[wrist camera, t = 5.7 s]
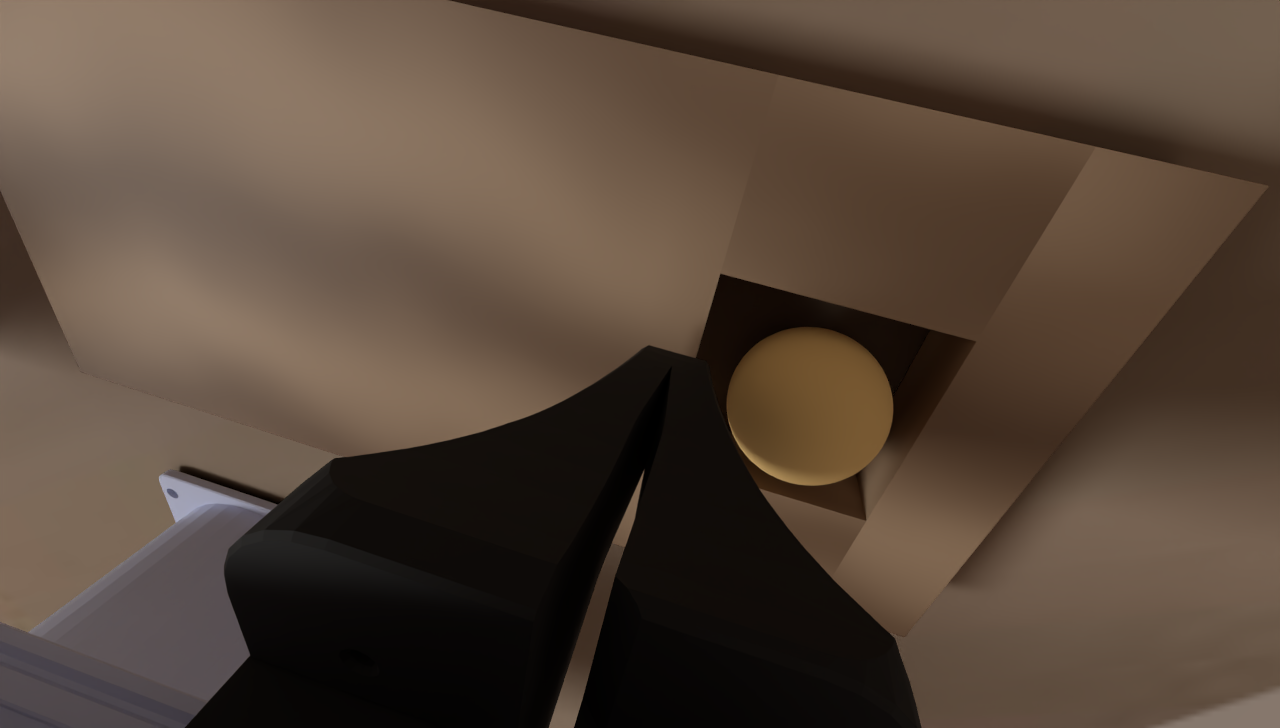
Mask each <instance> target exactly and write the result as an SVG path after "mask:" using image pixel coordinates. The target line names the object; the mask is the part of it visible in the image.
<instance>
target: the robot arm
mask: <svg viewBox="0 0 1280 728" xmlns="http://www.w3.org/2000/svg"><path fill="white" fill-rule="evenodd" d="M643 471H644V474H643ZM642 474H643V479H642V484H641V489H640V494H639V499H638V504H637V509H636V514H635V519H634V523H633V526H632V529H631V532H630V535H629V537H628V540H627V543H626V546H625V549H624V552H623V555H622V558H621V561H620V564H619V567H618V570H617V573H616V575H615V579H614V583H613V587H612V590H611V594H610V598H609V602H608V606H607V609H606V613H605V617H604V621H603V625H602V628H601V632H600V636H599V640H598V643H597V647H596V651H595V655H594V659H593V662H592V666H591V670H590V674H589V678H588V681H587V685H586V689H585V693H584V696H583V700H582V703H581V706H580V710H579V713H578V716H577V720H576V723H575V726H574V728H921V724H920V720H919V716H918V711H917V707H916V703H915V700H914V696H913V692H912V689H911V685H910V682H909V679H908V676H907V673H906V670H905V667H904V665H903V662H902V659H901V656H900V653H899V650H898V647H897V643H896V640H895V638H894V637H893V636H892V635H891V634H890V633H889V632H888V631H886V630H885V629H884V628H883V627H882V626H881V625H880V624H879V623H878V622H877V621H876V620H875V619H874V618H873V617H872V616H871V615H870V614H869V613H868V612H867V611H865V610H864V609H863V608H862V607H861V606H860V605H859V604H858V603H857V602H856V601H855V600H854V599H853V598H852V597H851V596H850V595H849V594H848V593H847V592H846V591H845V590H843V589H842V588H841V587H840V586H839V585H838V584H837V583H836V582H835V581H834V580H833V579H832V578H831V576H830V575H829V574H828V573H827V572H826V571H825V570H824V569H823V568H822V567H821V565H820V564H819V563H818V562H817V561H816V560H815V559H814V558H813V557H812V556H811V554H810V553H809V552H808V551H807V550H806V549H805V548H804V547H803V545H802V544H801V543H800V542H799V541H798V539H797V538H796V537H795V536H794V535H793V534H792V532H791V531H790V530H789V529H788V527H787V526H786V525H785V523H784V522H783V521H782V519H781V518H780V517H779V515H778V514H777V513H776V511H775V510H774V509H773V507H772V506H771V505H770V504H769V502H768V501H767V499H766V498H765V496H764V495H763V493H762V492H761V491H760V489H759V488H758V486H757V484H756V483H755V481H754V479H753V478H752V476H751V474H750V473H749V471H748V469H747V467H746V465H745V464H744V462H743V460H742V458H741V456H740V454H739V452H738V450H737V448H736V446H735V443H734V441H733V439H732V437H731V435H730V432H729V430H728V428H727V425H726V423H725V420H724V417H723V415H722V412H721V409H720V407H719V404H718V401H717V398H716V394H715V391H714V387H713V383H712V379H711V374H710V367H709V365H708V364H707V362H706V361H704V360H700V359H697V358H693V357H690V356H686V355H682V354H679V353H675V352H672V351H668V350H665V349H661V348H658V347H654V346H650V345H648V346H646V347H644V348H642V349H641V350H640V351H639V352H637V353H636V354H635V355H634V356H632V357H631V358H630V359H628V360H627V361H626V362H624V363H623V364H622V365H620V366H619V367H618V368H616V369H615V370H613V371H612V372H610V373H609V374H607V375H606V376H604V377H603V378H601V379H600V380H598V381H597V382H595V383H594V384H592V385H590V386H588V387H587V388H585V389H583V390H581V391H580V392H578V393H576V394H574V395H573V396H571V397H569V398H567V399H565V400H564V401H561V402H559V403H557V404H555V405H553V406H551V407H549V408H547V409H545V410H542V411H540V412H538V413H535V414H533V415H530V416H528V417H525V418H522V419H519V420H516V421H513V422H510V423H507V424H504V425H501V426H498V427H495V428H492V429H489V430H485V431H482V432H479V433H475V434H471V435H467V436H463V437H459V438H455V439H451V440H447V441H442V442H437V443H433V444H428V445H423V446H418V447H412V448H407V449H400V450H393V451H386V452H379V453H372V454H365V455H358V456H351V457H342V458H334V459H333V460H331V461H330V462H329V463H328V464H326V465H325V466H324V467H322V468H321V469H320V470H319V471H317V472H316V473H315V474H313V475H312V476H311V477H310V478H308V479H307V480H306V481H304V482H303V483H302V484H301V485H300V486H299V487H298V488H296V489H295V490H294V491H293V492H292V493H291V494H290V495H288V496H287V497H286V498H285V499H284V500H283V501H282V502H280V503H279V504H275V503H272V502H269V501H266V500H263V499H260V498H257V497H254V496H251V495H248V494H245V493H242V492H239V491H236V490H233V489H230V488H227V487H224V486H221V485H218V484H215V483H212V482H209V481H206V480H203V479H200V478H197V477H194V476H191V475H188V474H185V473H182V472H179V471H176V470H168V471H166V472H164V473H163V474H161V475H160V477H159V481H160V484H161V486H162V489H163V491H164V494H165V496H166V499H167V501H168V504H169V506H170V509H171V511H172V514H173V516H174V519H175V521H176V523H175V524H174V525H172V526H171V527H170V528H168V529H167V530H166V531H164V532H163V533H162V534H160V535H159V536H157V537H156V538H155V539H153V540H152V541H151V542H149V543H148V544H147V545H145V546H144V547H143V548H141V549H140V550H139V551H137V552H136V553H135V554H133V555H132V556H130V557H129V558H128V559H126V560H125V561H124V562H122V563H121V564H120V565H118V566H117V567H116V568H114V569H113V570H112V571H110V572H109V573H108V574H106V575H105V576H103V577H102V578H101V579H99V580H98V581H97V582H95V583H94V584H93V585H91V586H90V587H89V588H87V589H86V590H85V591H83V592H82V593H80V594H79V595H78V596H76V597H75V598H74V599H72V600H71V601H70V602H68V603H67V604H66V605H64V606H63V607H62V608H60V609H59V610H58V611H56V612H55V613H53V614H52V615H51V616H49V617H48V618H47V619H45V620H44V621H43V622H41V623H40V624H39V625H37V626H36V627H35V628H33V629H32V630H31V631H29V632H25V631H22V630H20V629H17V628H15V627H12V626H9V625H7V624H4V623H1V622H0V728H549V725H550V722H551V719H552V715H553V712H554V709H555V706H556V703H557V700H558V697H559V694H560V691H561V688H562V685H563V682H564V678H565V675H566V672H567V669H568V666H569V663H570V660H571V657H572V654H573V651H574V648H575V645H576V642H577V639H578V636H579V633H580V630H581V627H582V624H583V621H584V618H585V614H586V611H587V608H588V605H589V602H590V599H591V596H592V593H593V590H594V587H595V584H596V581H597V578H598V575H599V573H600V570H601V568H602V565H603V563H604V560H605V558H606V555H607V553H608V551H609V548H610V546H611V544H612V542H613V539H614V537H615V535H616V533H617V530H618V528H619V526H620V524H621V521H622V519H623V517H624V515H625V512H626V510H627V508H628V506H629V503H630V501H631V499H632V496H633V494H634V492H635V490H636V487H637V485H638V483H639V481H640V478H641V476H642Z"/></svg>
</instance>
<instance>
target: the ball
mask: <svg viewBox="0 0 1280 728" xmlns="http://www.w3.org/2000/svg"><path fill="white" fill-rule="evenodd" d="M727 415H728V421H729V424H730V428H731V431H732V434H733V436H734V438H735V440H736V442H737V443H738V445H739V447H740V448H741V450H742V451H743V452H744V454H745V455H746V456H747V457H748V458H749V459H750V460H751V461H752V462H753V463H754V464H755V465H756V466H758V467H759V468H760V469H761V470H763V471H764V472H766V473H768V474H769V475H771V476H773V477H776V478H778V479H780V480H783V481H786V482H789V483H793V484H798V485H809V486H817V485H826V484H831V483H835V482H838V481H841V480H844V479H846V478H848V477H850V476H853V475H854V474H856V473H858V472H859V471H860V470H862V469H863V468H864V467H866V466H867V465H868V464H869V463H870V462H871V461H872V460H873V459H874V458H875V457H876V455H877V454H878V453H879V452H880V450H881V449H882V447H883V445H884V443H885V441H886V439H887V437H888V435H889V432H890V428H891V424H892V419H893V398H892V392H891V388H890V385H889V382H888V379H887V377H886V375H885V373H884V371H883V369H882V367H881V366H880V364H879V363H878V361H877V360H876V359H875V358H874V357H873V355H872V354H871V353H870V352H869V351H868V350H867V349H866V348H864V347H863V346H862V345H860V344H859V343H858V342H856V341H855V340H853V339H852V338H850V337H848V336H846V335H844V334H841V333H839V332H836V331H833V330H829V329H825V328H820V327H797V328H791V329H786V330H783V331H780V332H777V333H775V334H773V335H770V336H768V337H766V338H765V339H763V340H761V341H760V342H759V343H757V344H756V345H755V346H754V347H752V348H751V349H750V350H749V351H748V352H747V353H746V354H745V355H744V357H743V358H742V360H741V361H740V362H739V364H738V365H737V367H736V369H735V371H734V373H733V375H732V378H731V380H730V384H729V388H728V393H727Z"/></svg>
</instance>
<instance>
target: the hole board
mask: <svg viewBox="0 0 1280 728" xmlns="http://www.w3.org/2000/svg"><path fill="white" fill-rule="evenodd" d="M1268 187H1269V186H1268V185H1264V184H1259V183H1255V182H1250V181H1246V180H1241V179H1237V178H1233V177H1228V176H1224V175H1219V174H1215V173H1210V172H1206V171H1202V170H1197V169H1193V168H1188V167H1184V166H1179V165H1175V164H1171V163H1166V162H1162V161H1157V160H1153V159H1148V158H1144V157H1140V156H1135V155H1131V154H1126V153H1122V152H1118V151H1113V150H1109V149H1104V148H1100V147H1095V146H1091V145H1087V144H1082V143H1078V142H1073V141H1069V140H1064V139H1060V138H1056V137H1051V136H1047V135H1042V134H1038V133H1033V132H1029V131H1025V130H1020V129H1016V128H1011V127H1007V126H1002V125H998V124H994V123H989V122H985V121H980V120H976V119H971V118H967V117H963V116H958V115H954V114H949V113H945V112H940V111H936V110H932V109H927V108H923V107H918V106H914V105H909V104H905V103H901V102H896V101H892V100H887V99H883V98H879V97H874V96H870V95H865V94H861V93H856V92H852V91H848V90H843V89H839V88H834V87H830V86H825V85H821V84H817V83H812V82H808V81H803V80H799V79H794V78H790V77H786V76H781V75H777V74H772V73H768V72H763V71H759V70H755V69H750V68H746V67H741V66H737V65H732V64H728V63H724V62H719V61H715V60H710V59H706V58H701V57H697V56H693V55H688V54H684V53H679V52H675V51H671V50H666V49H662V48H657V47H653V46H648V45H644V44H640V43H635V42H631V41H626V40H622V39H617V38H613V37H609V36H604V35H600V34H595V33H591V32H586V31H582V30H578V29H573V28H569V27H564V26H560V25H555V24H551V23H547V22H542V21H538V20H533V19H529V18H524V17H520V16H516V15H511V14H507V13H502V12H498V11H493V10H489V9H485V8H480V7H476V6H471V5H467V4H463V3H458V2H454V1H449V0H0V191H1V194H2V196H3V198H4V200H5V203H6V205H7V207H8V209H9V212H10V214H11V216H12V218H13V221H14V223H15V225H16V227H17V230H18V232H19V234H20V236H21V239H22V241H23V243H24V245H25V248H26V250H27V252H28V254H29V257H30V259H31V261H32V263H33V266H34V268H35V270H36V272H37V275H38V277H39V279H40V281H41V284H42V286H43V288H44V290H45V293H46V295H47V297H48V299H49V302H50V304H51V306H52V308H53V311H54V313H55V315H56V317H57V320H58V322H59V324H60V326H61V329H62V331H63V333H64V335H65V338H66V340H67V342H68V344H69V347H70V349H71V351H72V353H73V356H74V358H75V360H76V362H77V365H78V367H79V369H80V371H81V372H82V373H85V374H88V375H91V376H94V377H97V378H100V379H104V380H107V381H110V382H113V383H116V384H119V385H122V386H125V387H128V388H132V389H135V390H138V391H141V392H144V393H147V394H150V395H153V396H156V397H160V398H163V399H166V400H169V401H172V402H175V403H178V404H181V405H184V406H187V407H191V408H194V409H197V410H200V411H203V412H206V413H209V414H212V415H215V416H219V417H222V418H225V419H228V420H231V421H234V422H237V423H240V424H243V425H247V426H250V427H253V428H256V429H259V430H262V431H265V432H268V433H271V434H275V435H278V436H281V437H284V438H287V439H290V440H293V441H296V442H299V443H302V444H306V445H309V446H312V447H315V448H318V449H321V450H324V451H327V452H330V453H334V454H337V455H340V456H343V457H351V456H358V455H365V454H372V453H379V452H386V451H393V450H400V449H407V448H412V447H418V446H423V445H428V444H433V443H437V442H442V441H447V440H451V439H455V438H459V437H463V436H467V435H471V434H475V433H479V432H482V431H485V430H489V429H492V428H495V427H498V426H501V425H504V424H507V423H510V422H513V421H516V420H519V419H522V418H525V417H528V416H530V415H533V414H535V413H538V412H540V411H542V410H545V409H547V408H549V407H551V406H553V405H555V404H557V403H559V402H561V401H564V400H565V399H567V398H569V397H571V396H573V395H574V394H576V393H578V392H580V391H581V390H583V389H585V388H587V387H588V386H590V385H592V384H594V383H595V382H597V381H598V380H600V379H601V378H603V377H604V376H606V375H607V374H609V373H610V372H612V371H613V370H615V369H616V368H618V367H619V366H620V365H622V364H623V363H624V362H626V361H627V360H628V359H630V358H631V357H632V356H634V355H635V354H636V353H637V352H639V351H640V350H641V349H642V348H644V347H646V346H648V345H650V346H654V347H658V348H661V349H665V350H668V351H672V352H675V353H679V354H682V355H686V356H690V357H693V358H696V355H697V352H698V349H699V345H700V342H701V338H702V335H703V331H704V328H705V325H706V321H707V318H708V314H709V311H710V308H711V304H712V301H713V297H714V294H715V290H716V287H717V284H718V280H719V277H720V274H724V275H728V276H731V277H735V278H739V279H743V280H746V281H750V282H754V283H758V284H761V285H765V286H769V287H773V288H777V289H780V290H784V291H788V292H792V293H795V294H799V295H803V296H807V297H810V298H814V299H818V300H822V301H826V302H829V303H833V304H837V305H841V306H844V307H848V308H852V309H856V310H859V311H863V312H867V313H871V314H875V315H878V316H882V317H886V318H890V319H893V320H897V321H901V322H905V323H908V324H912V325H916V326H920V327H924V328H927V329H931V330H930V331H929V333H928V335H927V337H926V339H925V340H924V342H923V344H922V346H921V348H920V350H919V351H918V353H917V355H916V357H915V359H914V360H913V362H912V364H911V366H910V368H909V369H908V371H907V373H906V375H905V377H904V379H903V380H902V382H901V384H900V386H899V388H898V389H897V391H896V393H895V395H894V397H893V419H892V424H891V428H890V432H889V435H888V437H887V439H886V441H885V443H884V445H883V447H882V449H881V450H880V452H879V453H878V454H877V455H876V457H875V458H874V459H873V460H872V461H871V462H870V463H869V464H868V465H867V466H866V467H864V468H863V469H862V470H860V471H859V472H858V473H856V474H854V475H853V476H850V477H848V478H846V479H844V480H841V481H838V482H835V483H831V484H826V485H817V486H809V485H798V484H793V483H789V482H786V481H783V480H780V479H778V478H776V477H773V476H771V475H769V474H768V473H766V472H764V471H763V470H761V469H760V468H759V467H758V466H756V465H755V464H754V463H753V462H752V461H751V460H750V459H749V458H748V457H747V456H746V455H745V454H744V452H743V451H742V450H741V448H740V447H739V445H738V443H737V442H736V440H735V438H734V436H733V434H732V431H729V432H730V435H731V437H732V439H733V441H734V443H735V446H736V448H737V450H738V452H739V454H740V456H741V458H742V460H743V462H744V464H745V465H746V467H747V469H748V471H749V473H750V474H751V476H752V478H753V479H754V481H755V483H756V484H757V486H758V488H759V489H760V491H761V492H762V493H763V495H764V496H765V498H766V499H767V501H768V502H769V504H770V505H771V506H772V507H773V509H774V510H775V511H776V513H777V514H778V515H779V517H780V518H781V519H782V521H783V522H784V523H785V525H786V526H787V527H788V529H789V530H790V531H791V532H792V534H793V535H794V536H795V537H796V538H797V539H798V541H799V542H800V543H801V544H802V545H803V547H804V548H805V549H806V550H807V551H808V552H809V553H810V554H811V556H812V557H813V558H814V559H815V560H816V561H817V562H818V563H819V564H820V565H821V567H822V568H823V569H824V570H825V571H826V572H827V573H828V574H829V575H830V576H831V578H832V579H833V580H834V581H835V582H836V583H837V584H838V585H839V586H840V587H841V588H842V589H843V590H845V591H846V592H847V593H848V594H849V595H850V596H851V597H852V598H853V599H854V600H855V601H856V602H857V603H858V604H859V605H860V606H861V607H862V608H863V609H864V610H865V611H867V612H868V613H869V614H870V615H871V616H872V617H873V618H874V619H875V620H876V621H877V622H878V623H879V624H880V625H881V626H882V627H883V628H884V629H885V630H886V631H888V632H890V633H893V634H896V635H899V636H902V637H905V636H906V635H907V634H908V632H909V631H910V630H911V629H912V627H913V626H914V625H915V624H916V622H917V621H918V620H919V619H920V617H921V616H922V615H923V614H924V613H925V611H926V610H927V609H928V608H929V606H930V605H931V604H932V603H933V601H934V600H935V599H936V598H937V596H938V595H939V594H940V593H941V591H942V590H943V589H944V588H945V587H946V585H947V584H948V583H949V582H950V580H951V579H952V578H953V577H954V575H955V574H956V573H957V572H958V570H959V569H960V568H961V567H962V565H963V564H964V563H965V562H966V561H967V559H968V558H969V557H970V556H971V554H972V553H973V552H974V551H975V549H976V548H977V547H978V546H979V544H980V543H981V542H982V541H983V540H984V538H985V537H986V536H987V535H988V533H989V532H990V531H991V530H992V528H993V527H994V526H995V525H996V523H997V522H998V521H999V520H1000V518H1001V517H1002V516H1003V515H1004V514H1005V512H1006V511H1007V510H1008V509H1009V507H1010V506H1011V505H1012V504H1013V502H1014V501H1015V500H1016V499H1017V497H1018V496H1019V495H1020V494H1021V492H1022V491H1023V490H1024V489H1025V488H1026V486H1027V485H1028V484H1029V483H1030V481H1031V480H1032V479H1033V478H1034V476H1035V475H1036V474H1037V473H1038V471H1039V470H1040V469H1041V468H1042V466H1043V465H1044V464H1045V463H1046V462H1047V460H1048V459H1049V458H1050V457H1051V455H1052V454H1053V453H1054V452H1055V450H1056V449H1057V448H1058V447H1059V445H1060V444H1061V443H1062V442H1063V440H1064V439H1065V438H1066V437H1067V436H1068V434H1069V433H1070V432H1071V431H1072V429H1073V428H1074V427H1075V426H1076V424H1077V423H1078V422H1079V421H1080V419H1081V418H1082V417H1083V416H1084V414H1085V413H1086V412H1087V411H1088V410H1089V408H1090V407H1091V406H1092V405H1093V403H1094V402H1095V401H1096V400H1097V398H1098V397H1099V396H1100V395H1101V393H1102V392H1103V391H1104V390H1105V388H1106V387H1107V386H1108V385H1109V384H1110V382H1111V381H1112V380H1113V379H1114V377H1115V376H1116V375H1117V374H1118V372H1119V371H1120V370H1121V369H1122V367H1123V366H1124V365H1125V364H1126V363H1127V361H1128V360H1129V359H1130V358H1131V356H1132V355H1133V354H1134V353H1135V351H1136V350H1137V349H1138V348H1139V346H1140V345H1141V344H1142V343H1143V341H1144V340H1145V339H1146V338H1147V337H1148V335H1149V334H1150V333H1151V332H1152V330H1153V329H1154V328H1155V327H1156V325H1157V324H1158V323H1159V322H1160V320H1161V319H1162V318H1163V317H1164V315H1165V314H1166V313H1167V312H1168V311H1169V309H1170V308H1171V307H1172V306H1173V304H1174V303H1175V302H1176V301H1177V299H1178V298H1179V297H1180V296H1181V294H1182V293H1183V292H1184V291H1185V289H1186V288H1187V287H1188V286H1189V285H1190V283H1191V282H1192V281H1193V280H1194V278H1195V277H1196V276H1197V275H1198V273H1199V272H1200V271H1201V270H1202V268H1203V267H1204V266H1205V265H1206V263H1207V262H1208V261H1209V260H1210V259H1211V257H1212V256H1213V255H1214V254H1215V252H1216V251H1217V250H1218V249H1219V247H1220V246H1221V245H1222V244H1223V242H1224V241H1225V240H1226V239H1227V237H1228V236H1229V235H1230V234H1231V233H1232V231H1233V230H1234V229H1235V228H1236V226H1237V225H1238V224H1239V223H1240V221H1241V220H1242V219H1243V218H1244V216H1245V215H1246V214H1247V213H1248V212H1249V210H1250V209H1251V208H1252V207H1253V205H1254V204H1255V203H1256V202H1257V200H1258V199H1259V198H1260V197H1261V195H1262V194H1263V193H1264V192H1265V190H1266V189H1267V188H1268ZM643 474H644V471H643ZM643 474H642V476H641V478H640V481H639V483H638V485H637V487H636V490H635V492H634V494H633V496H632V499H631V501H630V503H629V506H628V508H627V510H626V512H625V515H624V517H623V519H622V521H621V524H620V526H619V528H618V530H617V533H616V535H615V537H614V539H613V542H612V543H613V544H616V545H620V546H623V547H625V546H626V543H627V540H628V537H629V535H630V532H631V529H632V526H633V523H634V519H635V514H636V509H637V504H638V499H639V494H640V489H641V484H642V479H643Z"/></svg>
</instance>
